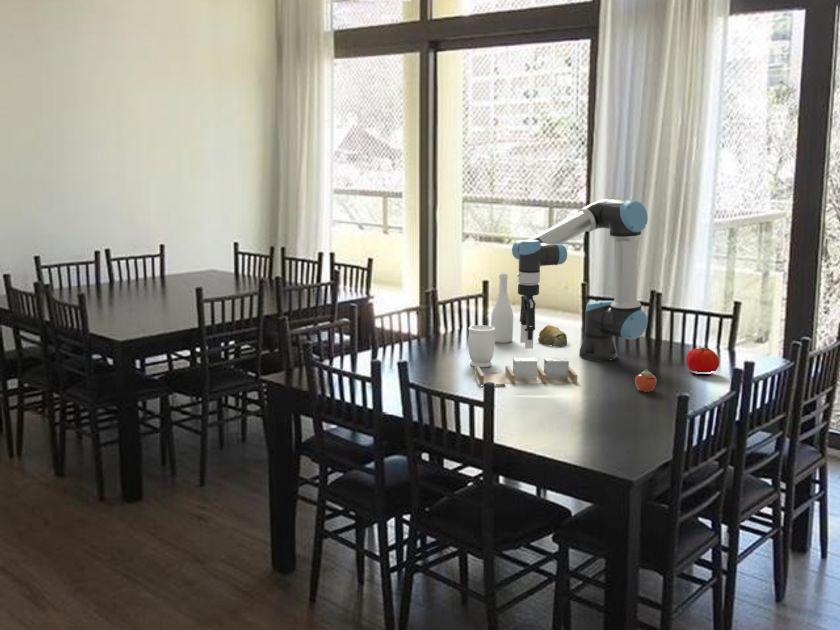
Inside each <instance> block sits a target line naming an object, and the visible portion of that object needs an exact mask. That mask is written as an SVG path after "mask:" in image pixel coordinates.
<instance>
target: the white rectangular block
mask: <svg viewBox="0 0 840 630" xmlns="http://www.w3.org/2000/svg"><path fill="white" fill-rule="evenodd" d="M537 366H538V360H537V358H536V357H518V358H517V357H513V358H512V371H513V373H514V374H515V380H537Z"/></svg>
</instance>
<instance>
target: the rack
mask: <svg viewBox="0 0 840 630" xmlns="http://www.w3.org/2000/svg"><path fill="white" fill-rule="evenodd" d="M474 368H475V373H473V378H474V380H475V382H476V384H477V386H478V387H479V386H481V385H483V384H484V383H485V382H489V381H490V382H494V383H495V384H496V387H506V385H533V384H534V385H536V384H539V385H544V384H546V385H549V384H557V385H558V384H559V385H560V384H561V385H563V384H567V385H568V384H579V382H578V374H577V373H576V372H575V371H574V369H572V368H571V367H570V366H569V368H568V380H546V374H545V373H544V369H542V368H541V367H540V365H537V380H515V374H514V373H513V369H511V367H510V366H509V365H505V372H504V373H483V372H482V369H481V367H479V366H476V367H474ZM496 387H495V388H496Z"/></svg>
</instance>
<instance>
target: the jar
mask: <svg viewBox="0 0 840 630" xmlns="http://www.w3.org/2000/svg"><path fill="white" fill-rule="evenodd" d="M468 331H469V333H468V338H467V346H468V347H467V348H468V354H469V355H468V356H469V359H470V360H471V362H470V366H472V367H474V368H476V366H479V367H480V368H489V367H491V366H492V362H491V361H492V359H493V356H494V351H495V346H496V342H495V337H494V331H495V328H494V327H492V326H491V325H484V324H483V325H481V324H480V325H479V324H478V325H477V324H476V325H471V326H469V327H468Z"/></svg>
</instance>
